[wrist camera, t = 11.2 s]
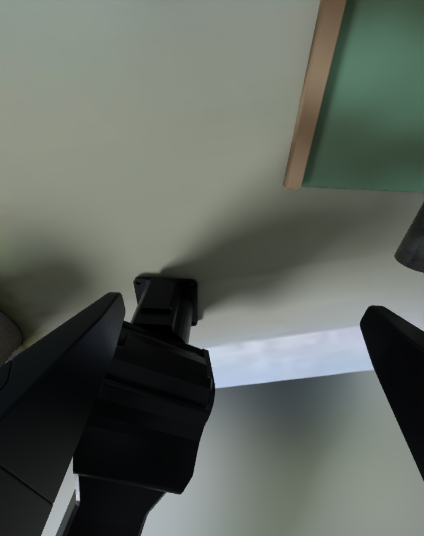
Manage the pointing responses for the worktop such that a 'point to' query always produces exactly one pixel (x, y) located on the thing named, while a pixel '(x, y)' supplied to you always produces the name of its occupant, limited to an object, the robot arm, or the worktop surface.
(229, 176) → the worktop surface
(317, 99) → the pitch
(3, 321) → the pillar candle
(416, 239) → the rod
